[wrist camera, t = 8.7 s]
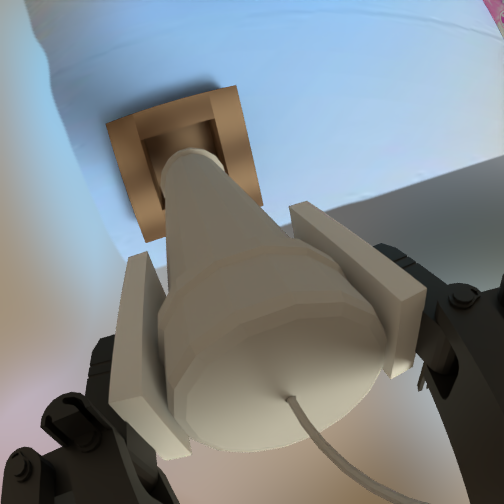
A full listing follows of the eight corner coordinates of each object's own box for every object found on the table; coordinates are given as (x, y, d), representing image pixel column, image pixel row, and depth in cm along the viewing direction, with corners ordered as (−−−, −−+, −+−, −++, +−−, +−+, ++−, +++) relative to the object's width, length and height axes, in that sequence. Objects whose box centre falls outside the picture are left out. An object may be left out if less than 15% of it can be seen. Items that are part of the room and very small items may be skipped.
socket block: (116, 122, 33) (105, 123, 27) (224, 90, 35) (236, 85, 29) (148, 222, 40) (145, 243, 34) (248, 191, 42) (263, 205, 36)
